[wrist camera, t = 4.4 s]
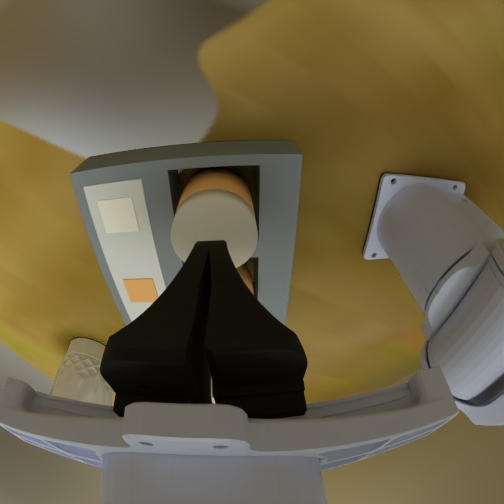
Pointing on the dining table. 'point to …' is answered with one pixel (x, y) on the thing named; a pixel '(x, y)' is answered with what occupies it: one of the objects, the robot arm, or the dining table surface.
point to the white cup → (82, 374)
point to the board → (164, 209)
